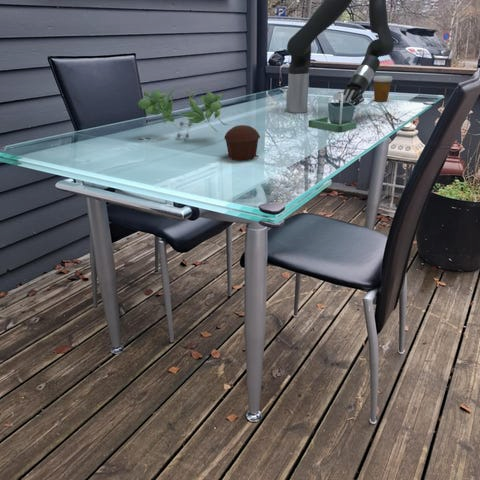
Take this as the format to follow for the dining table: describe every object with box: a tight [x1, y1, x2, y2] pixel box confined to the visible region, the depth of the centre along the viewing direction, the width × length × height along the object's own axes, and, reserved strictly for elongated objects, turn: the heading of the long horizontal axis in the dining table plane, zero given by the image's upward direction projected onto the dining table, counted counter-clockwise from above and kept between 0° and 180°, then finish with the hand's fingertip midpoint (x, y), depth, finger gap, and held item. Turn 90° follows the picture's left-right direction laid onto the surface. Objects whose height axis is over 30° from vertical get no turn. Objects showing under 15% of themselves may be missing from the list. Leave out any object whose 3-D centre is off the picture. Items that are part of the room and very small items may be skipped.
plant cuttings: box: [137, 89, 229, 141], centre depth 176 cm, size 35×17×22 cm
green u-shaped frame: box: [307, 92, 358, 133], centre depth 183 cm, size 16×10×14 cm, turn 41°
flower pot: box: [327, 101, 356, 125], centre depth 184 cm, size 9×9×9 cm
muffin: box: [223, 124, 261, 162], centre depth 150 cm, size 12×11×10 cm
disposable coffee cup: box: [372, 75, 394, 103], centre depth 234 cm, size 10×10×12 cm
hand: (340, 113), depth 189 cm, fingers closed
